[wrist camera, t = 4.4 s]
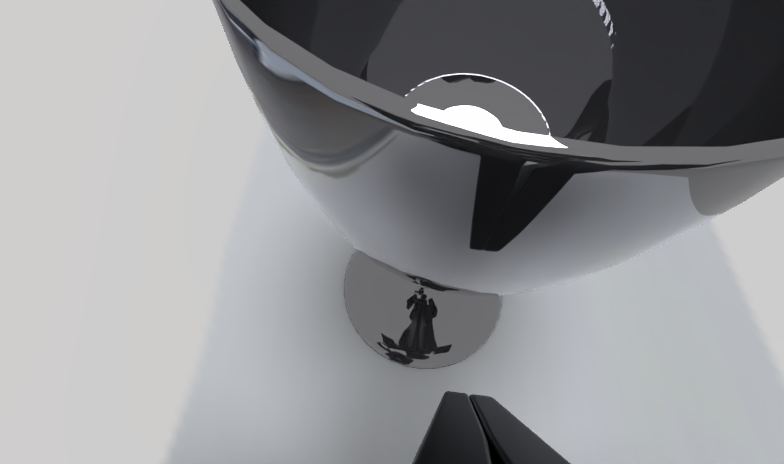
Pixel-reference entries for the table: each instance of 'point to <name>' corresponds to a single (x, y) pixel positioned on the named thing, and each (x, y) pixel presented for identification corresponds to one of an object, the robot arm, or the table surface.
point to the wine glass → (508, 140)
